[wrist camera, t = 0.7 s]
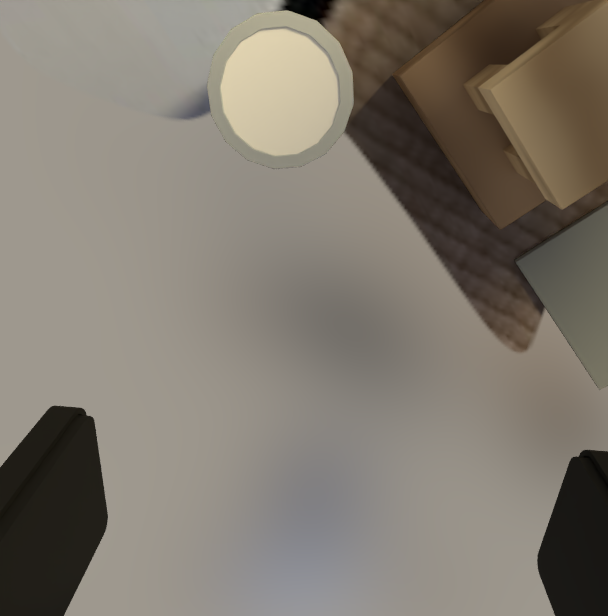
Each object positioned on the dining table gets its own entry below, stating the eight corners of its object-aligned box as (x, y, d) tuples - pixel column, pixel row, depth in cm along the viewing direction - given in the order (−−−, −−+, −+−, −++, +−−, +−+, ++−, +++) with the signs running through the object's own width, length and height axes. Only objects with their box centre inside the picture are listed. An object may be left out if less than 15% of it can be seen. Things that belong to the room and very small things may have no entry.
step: (554, -56, 28) (588, -74, 24) (637, 107, 31) (678, 113, 27) (391, 74, 30) (399, 76, 27) (482, 211, 33) (500, 230, 30)
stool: (567, -2, 25) (638, -22, 19) (622, 106, 27) (704, 118, 21) (455, 83, 27) (490, 89, 21) (515, 179, 29) (561, 210, 23)
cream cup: (341, 155, 32) (343, 178, 26) (228, 141, 32) (203, 160, 26) (358, 28, 30) (365, 20, 23) (235, 13, 30) (209, 0, 23)
